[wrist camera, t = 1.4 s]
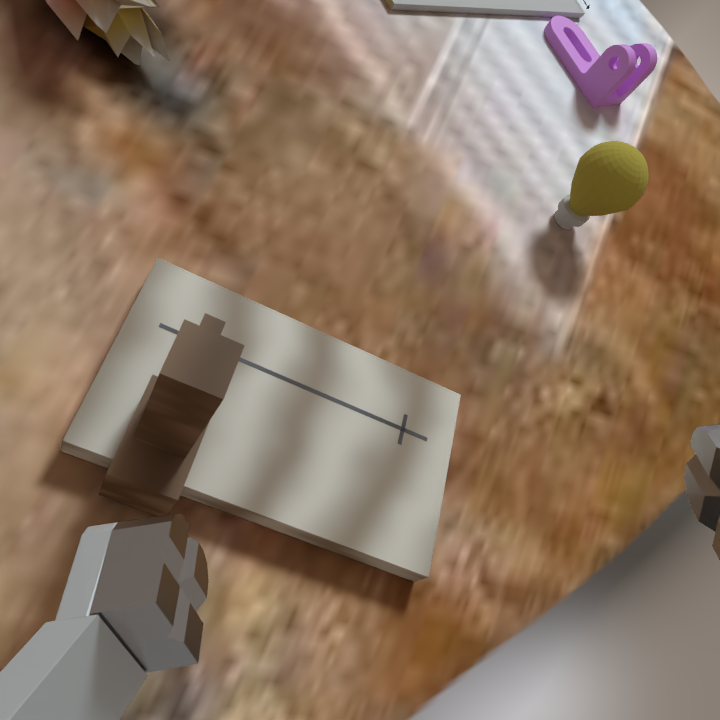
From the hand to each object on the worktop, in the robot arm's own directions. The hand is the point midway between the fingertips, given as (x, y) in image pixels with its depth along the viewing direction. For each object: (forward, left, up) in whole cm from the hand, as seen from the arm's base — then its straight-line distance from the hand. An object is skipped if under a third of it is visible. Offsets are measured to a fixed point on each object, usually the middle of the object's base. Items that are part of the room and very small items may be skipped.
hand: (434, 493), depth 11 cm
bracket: (+25, +75, -33) cm, 86 cm away
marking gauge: (-4, +12, -32) cm, 35 cm away
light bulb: (+24, +48, -33) cm, 63 cm away
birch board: (+3, +15, -33) cm, 36 cm away
